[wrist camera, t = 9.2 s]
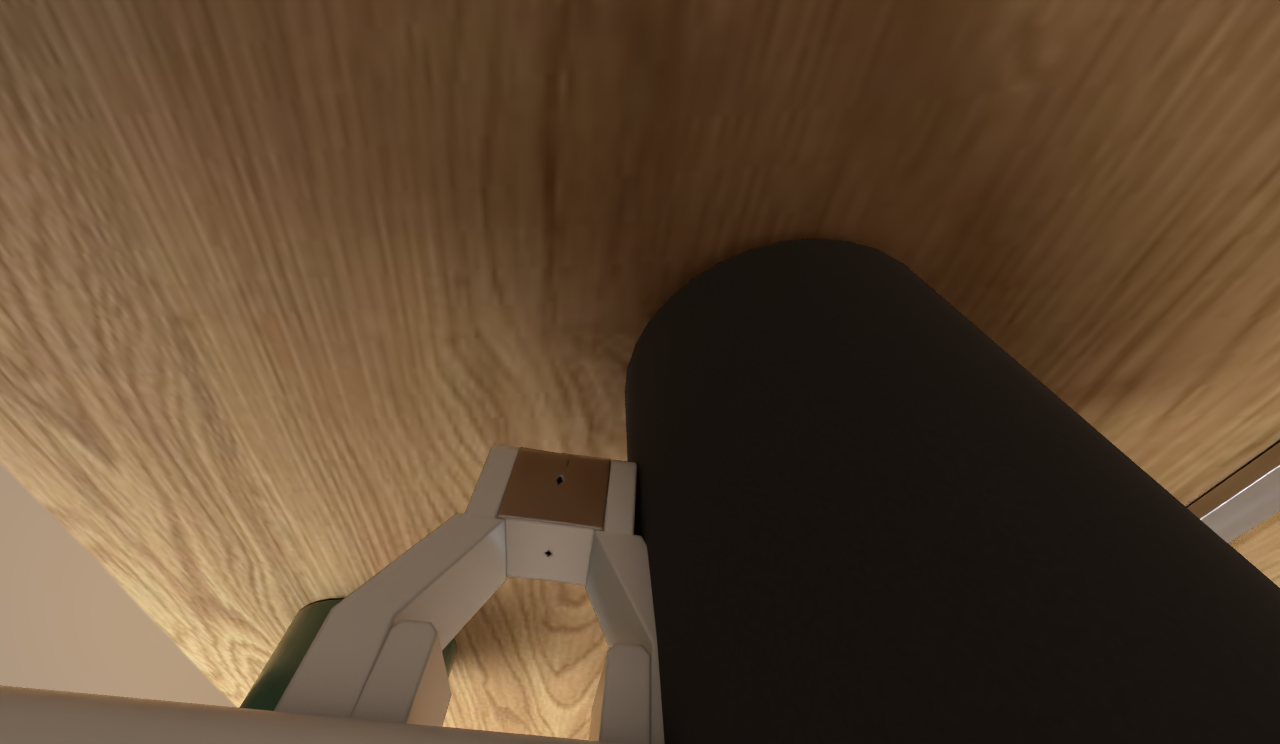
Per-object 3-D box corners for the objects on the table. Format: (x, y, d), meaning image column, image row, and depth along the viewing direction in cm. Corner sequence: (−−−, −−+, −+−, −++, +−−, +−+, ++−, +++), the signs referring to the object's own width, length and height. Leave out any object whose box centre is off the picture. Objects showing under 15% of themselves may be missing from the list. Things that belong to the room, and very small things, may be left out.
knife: (1078, 620, 20) (1110, 665, 19) (1032, 614, 20) (1060, 659, 19) (1706, 216, 10) (1889, 251, 8) (1615, 198, 10) (1785, 230, 8)
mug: (941, 501, 16) (1271, 989, 8) (602, 469, 14) (594, 1069, 6) (1136, 294, 12) (2432, 990, 3) (664, 203, 10) (994, 1360, 1)
